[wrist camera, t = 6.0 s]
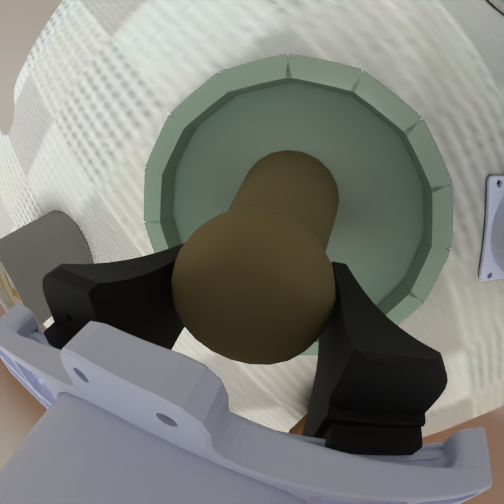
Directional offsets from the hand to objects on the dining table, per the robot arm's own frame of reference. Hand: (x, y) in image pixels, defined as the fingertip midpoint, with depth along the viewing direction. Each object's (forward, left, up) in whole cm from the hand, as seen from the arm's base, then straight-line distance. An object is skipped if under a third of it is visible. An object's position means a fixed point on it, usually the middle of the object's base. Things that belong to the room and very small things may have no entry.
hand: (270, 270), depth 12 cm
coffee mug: (+28, 0, -7) cm, 29 cm away
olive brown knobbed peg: (0, -2, -6) cm, 7 cm away
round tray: (0, 0, -7) cm, 7 cm away
